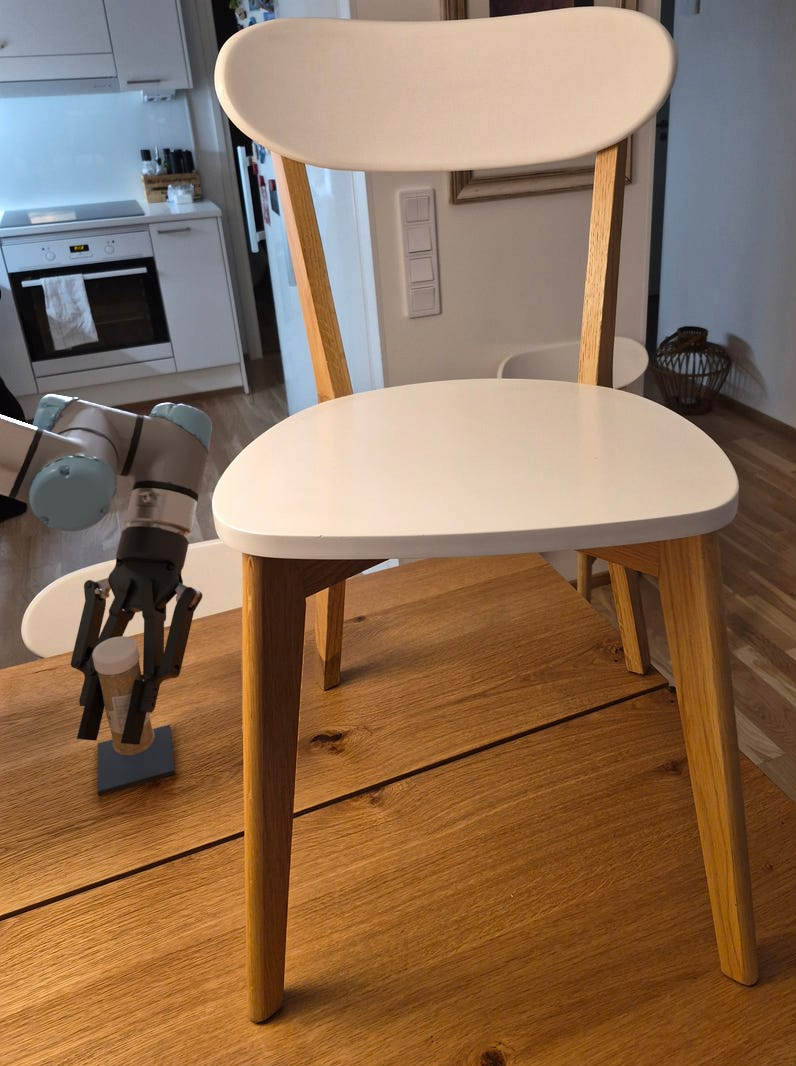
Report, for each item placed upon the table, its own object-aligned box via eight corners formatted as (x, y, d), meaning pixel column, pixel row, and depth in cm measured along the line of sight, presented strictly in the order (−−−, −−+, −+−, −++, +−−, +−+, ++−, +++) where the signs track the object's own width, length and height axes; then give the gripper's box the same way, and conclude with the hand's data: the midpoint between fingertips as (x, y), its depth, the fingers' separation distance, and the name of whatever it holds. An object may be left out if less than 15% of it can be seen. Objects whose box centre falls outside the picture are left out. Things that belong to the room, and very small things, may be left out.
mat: (98, 795, 93) (97, 791, 93) (98, 746, 100) (97, 742, 99) (175, 774, 96) (174, 770, 95) (170, 728, 102) (169, 724, 102)
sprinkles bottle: (113, 735, 98) (91, 640, 93) (154, 724, 100) (136, 630, 95) (113, 762, 95) (91, 665, 89) (157, 751, 96) (137, 654, 91)
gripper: (70, 519, 98) (12, 732, 89) (214, 527, 95) (168, 747, 87) (104, 536, 105) (53, 736, 96) (239, 545, 102) (199, 750, 94)
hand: (108, 741), depth 92 cm, fingers closed on sprinkles bottle, 4 cm apart
